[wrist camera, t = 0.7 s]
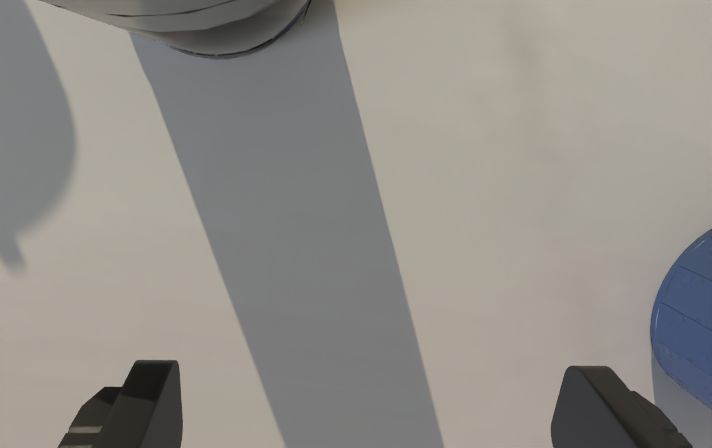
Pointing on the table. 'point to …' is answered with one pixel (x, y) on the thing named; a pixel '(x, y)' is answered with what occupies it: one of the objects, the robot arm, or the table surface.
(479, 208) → the table surface
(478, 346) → the table surface
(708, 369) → the pot
